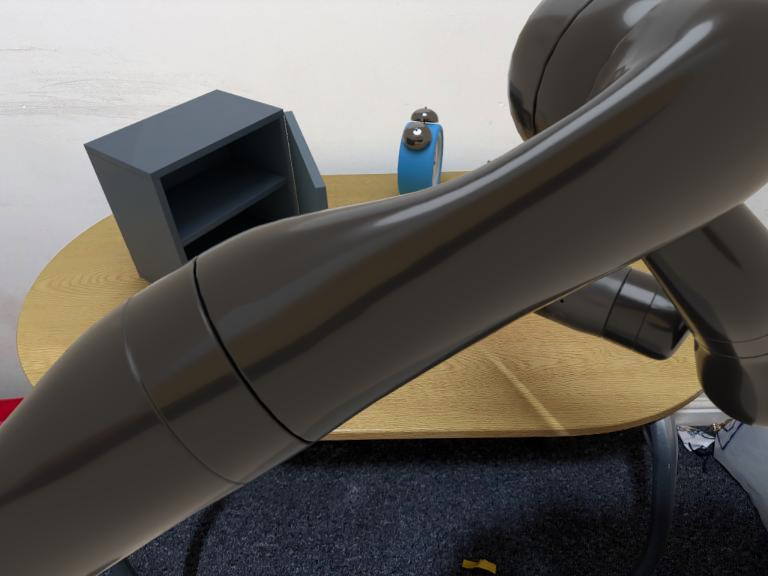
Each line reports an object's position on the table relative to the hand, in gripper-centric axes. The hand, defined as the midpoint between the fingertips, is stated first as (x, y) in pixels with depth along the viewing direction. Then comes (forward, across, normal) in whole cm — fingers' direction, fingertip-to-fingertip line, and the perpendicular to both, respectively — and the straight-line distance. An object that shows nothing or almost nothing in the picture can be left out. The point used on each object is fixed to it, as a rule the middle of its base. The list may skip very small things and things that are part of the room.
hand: (424, 229), depth 58 cm
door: (+18, -6, +18) cm, 26 cm away
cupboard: (+37, +1, +19) cm, 41 cm away
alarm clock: (+20, -32, +18) cm, 42 cm away
